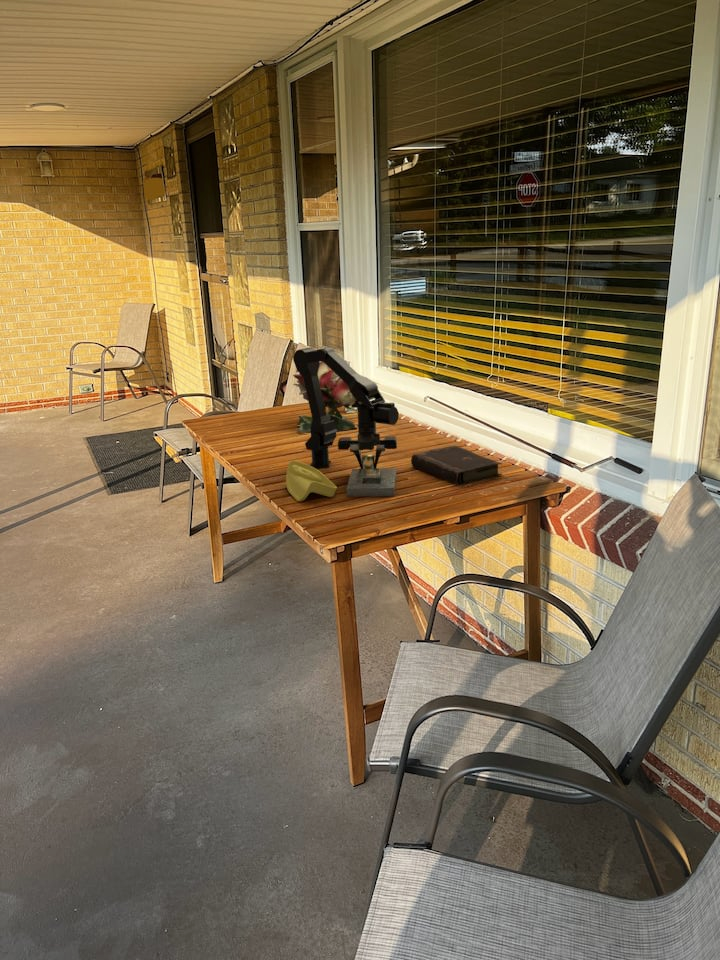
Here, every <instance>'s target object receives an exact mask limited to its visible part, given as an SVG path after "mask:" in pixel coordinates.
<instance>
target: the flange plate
mask: <svg viewBox="0 0 720 960" xmlns="http://www.w3.org/2000/svg"><path fill="white" fill-rule="evenodd" d="M396 482H397V468H396V467H393V468H392V467H388V468H381V467H380V468H377V467H376V468H370V469H361V468H352V469H351V472H350V475H349V479H348V482H347V485H346V497H394V496H395V495H394V494H396V485H397V483H396Z"/></svg>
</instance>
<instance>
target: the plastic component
mask: <svg viewBox="0 0 720 960" xmlns="http://www.w3.org/2000/svg"><path fill="white" fill-rule="evenodd" d="M285 485H286V488H287V491H288V493H289V494H290V495H291V496H292V497H293V499H294V500H295V501H296V502H300V503H301V502H303V501H305V500H306V499H307V498H308V496H309V495H310V494H312V493H315V494H318V495H322V496H325V497H327V498H333V497H334V496H335V494H336V493H335V492H336V491H337V489H338V487H337V485H336V484H335V483H334V482H332V481H331V480H330V479H329V478H328V477H327V476H326V475H325V474H324V473H322V472H321V471H320V470H318V469H317V468H316V467H312V466H310V465H309V464H307V463H303V462H301V461H298V460H294V459H292V460H290V461H289V463H288V467H287V470H286V477H285Z"/></svg>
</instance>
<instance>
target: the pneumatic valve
mask: <svg viewBox="0 0 720 960" xmlns="http://www.w3.org/2000/svg"><path fill="white" fill-rule="evenodd" d="M343 407H344V406H343ZM349 407H350V408H352V409H348V408H346V407H344V408H343V410H344V413H346V414H348V413H350V414H356V412H358V409H357V408H355V407H352V405H350V406H349ZM354 410H355V411H354Z"/></svg>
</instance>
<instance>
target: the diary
mask: <svg viewBox="0 0 720 960" xmlns="http://www.w3.org/2000/svg"><path fill="white" fill-rule="evenodd" d="M410 461H411V462H410V463H411V466H412V467H413V468H415V469H417V470H419V471H423V472H425V473H427V474H430V475H432V476H434V477H437V478H439V479H441V480H443V481H446V482H449V483H451V484H453V485H455V486H458V487H459V486H463V485H468V484H472V483H476V482H477V483H478V482H482V481H486V480H490V479H491V480H492V479H495V478H498V477H500V476H502V475H503V473H499V465H503V463H501V462H499V461H497V460H494V459H490V458H488V457H484V456H482V455H479V454H477V453H476V452H473V451H471V450H469V449H466V448H463V447H461V446H458V445H450V446H445V447H438V448H434V449H430V450H425V451H422V452H418V453H413V454H412V455H411V459H410Z"/></svg>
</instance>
